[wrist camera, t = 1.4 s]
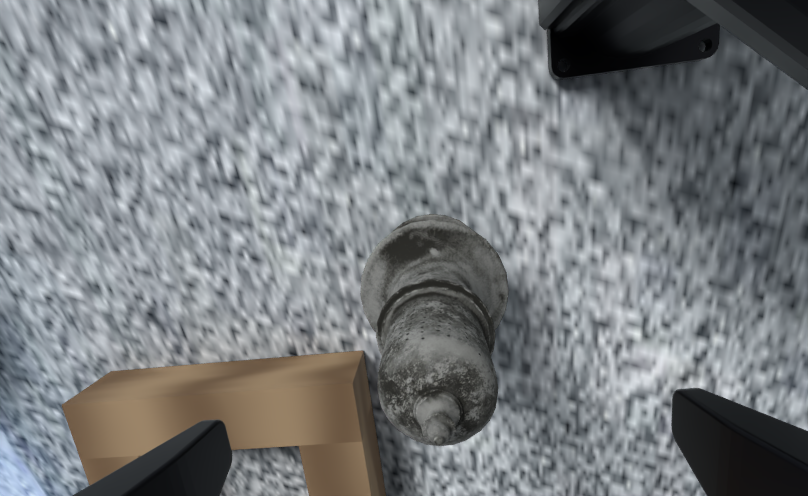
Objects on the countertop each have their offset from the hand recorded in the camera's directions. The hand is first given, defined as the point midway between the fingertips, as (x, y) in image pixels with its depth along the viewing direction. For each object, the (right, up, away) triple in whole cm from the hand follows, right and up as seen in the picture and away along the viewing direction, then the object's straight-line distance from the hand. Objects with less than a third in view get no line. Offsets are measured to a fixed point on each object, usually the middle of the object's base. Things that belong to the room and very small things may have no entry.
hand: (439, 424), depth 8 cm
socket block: (-9, -9, +15) cm, 19 cm away
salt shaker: (+1, +3, +11) cm, 12 cm away
